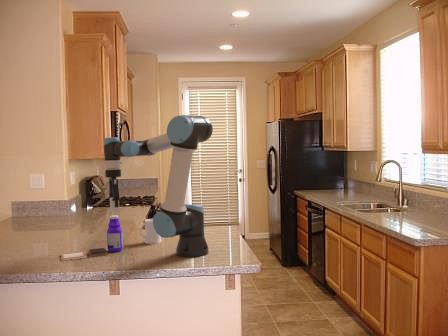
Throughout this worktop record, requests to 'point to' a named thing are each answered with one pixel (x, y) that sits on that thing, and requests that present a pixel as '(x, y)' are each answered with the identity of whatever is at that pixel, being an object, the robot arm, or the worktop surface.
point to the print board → (73, 255)
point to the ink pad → (97, 252)
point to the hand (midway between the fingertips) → (114, 212)
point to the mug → (150, 233)
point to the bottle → (114, 235)
